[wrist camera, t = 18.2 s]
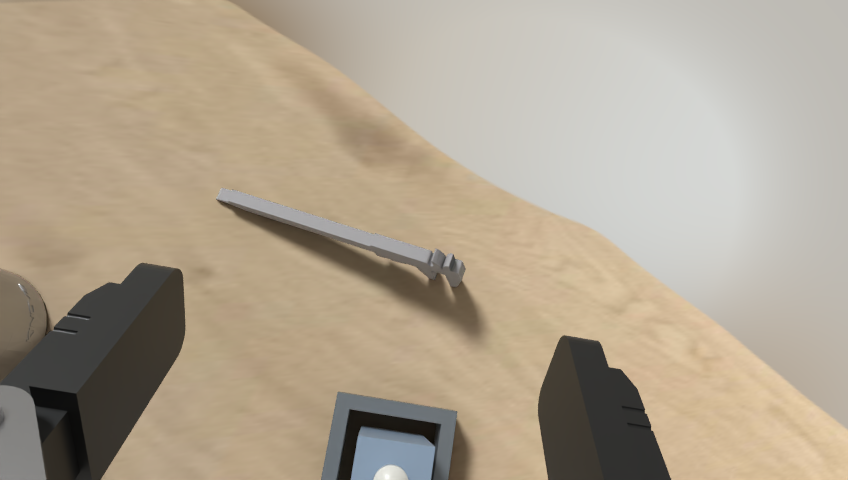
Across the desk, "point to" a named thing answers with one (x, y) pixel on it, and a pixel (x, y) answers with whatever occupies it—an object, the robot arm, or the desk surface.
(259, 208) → the caliper
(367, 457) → the blue gray block
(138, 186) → the desk surface
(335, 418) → the pocket plate
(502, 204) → the desk surface
